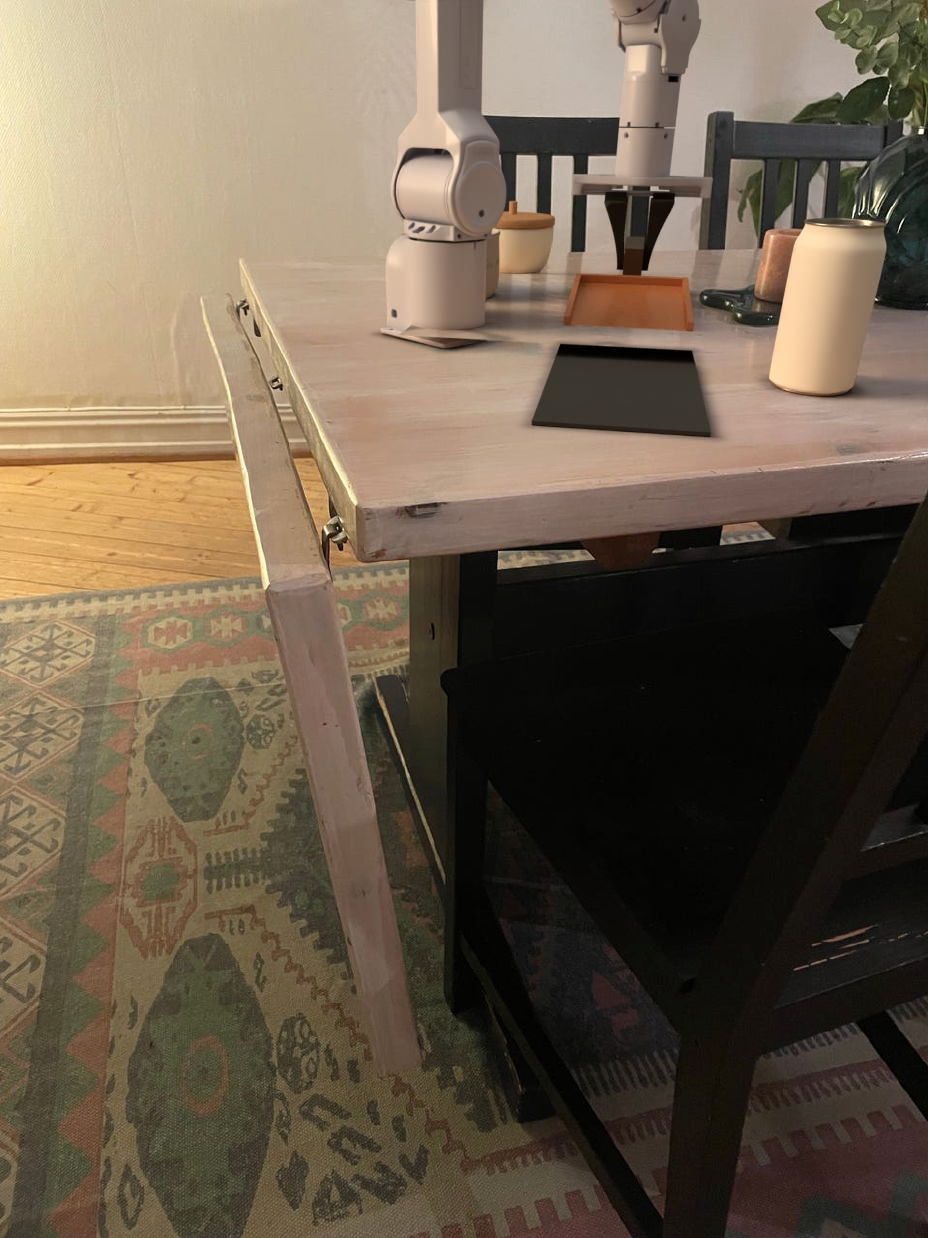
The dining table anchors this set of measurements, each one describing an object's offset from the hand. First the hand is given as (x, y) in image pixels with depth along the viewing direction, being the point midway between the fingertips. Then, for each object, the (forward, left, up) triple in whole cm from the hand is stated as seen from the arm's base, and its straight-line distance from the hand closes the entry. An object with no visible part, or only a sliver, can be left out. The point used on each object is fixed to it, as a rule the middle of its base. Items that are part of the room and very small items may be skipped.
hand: (632, 269), depth 95 cm
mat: (+19, -27, -4) cm, 33 cm away
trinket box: (-22, +4, -4) cm, 23 cm away
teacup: (-14, -14, -4) cm, 20 cm away
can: (+30, -16, -4) cm, 34 cm away
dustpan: (+5, -6, -2) cm, 8 cm away
